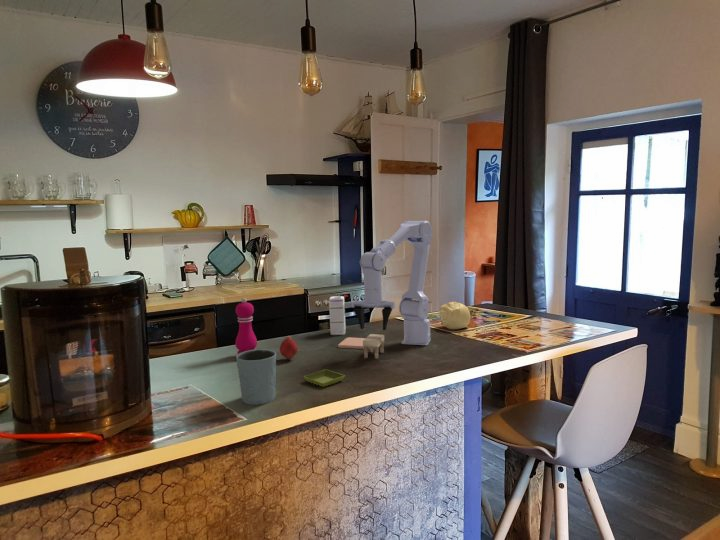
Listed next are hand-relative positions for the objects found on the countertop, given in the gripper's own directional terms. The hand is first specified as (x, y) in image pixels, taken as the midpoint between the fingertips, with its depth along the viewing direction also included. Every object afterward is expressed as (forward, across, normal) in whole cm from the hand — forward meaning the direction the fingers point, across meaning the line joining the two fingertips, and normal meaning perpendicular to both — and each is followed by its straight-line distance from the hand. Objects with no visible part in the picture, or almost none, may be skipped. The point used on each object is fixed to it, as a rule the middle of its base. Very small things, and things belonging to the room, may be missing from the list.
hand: (373, 329), depth 173 cm
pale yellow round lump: (+9, +22, +45) cm, 51 cm away
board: (+9, -8, +12) cm, 17 cm away
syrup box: (+9, -22, +27) cm, 36 cm away
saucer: (+10, -7, -29) cm, 31 cm away
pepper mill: (+9, -42, -10) cm, 44 cm away
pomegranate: (+9, -26, -11) cm, 30 cm away
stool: (+9, 0, 0) cm, 9 cm away
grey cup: (+9, -19, -46) cm, 51 cm away
